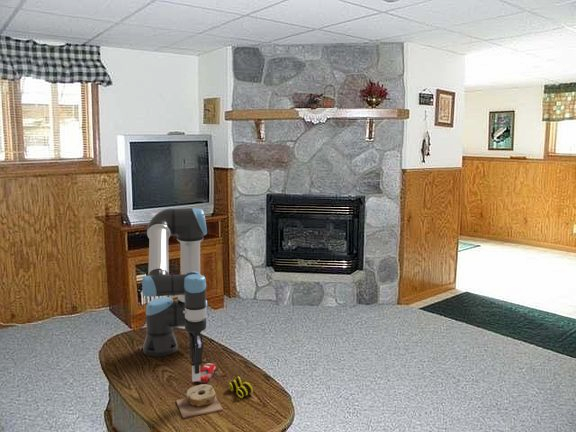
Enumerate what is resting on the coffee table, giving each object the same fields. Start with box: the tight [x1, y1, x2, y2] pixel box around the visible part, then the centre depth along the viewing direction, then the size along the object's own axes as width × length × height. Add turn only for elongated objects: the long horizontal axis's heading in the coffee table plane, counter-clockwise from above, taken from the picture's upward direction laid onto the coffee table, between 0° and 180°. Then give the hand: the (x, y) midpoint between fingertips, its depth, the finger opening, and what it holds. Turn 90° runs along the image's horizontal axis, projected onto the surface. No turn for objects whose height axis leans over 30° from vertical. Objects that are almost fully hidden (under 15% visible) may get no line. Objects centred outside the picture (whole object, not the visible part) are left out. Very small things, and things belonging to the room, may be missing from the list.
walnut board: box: [175, 395, 224, 419], centre depth 175 cm, size 12×14×1 cm
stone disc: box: [185, 383, 217, 407], centre depth 178 cm, size 10×4×10 cm
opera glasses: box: [228, 376, 254, 399], centre depth 185 cm, size 10×5×5 cm, turn 38°
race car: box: [195, 362, 217, 384], centre depth 197 cm, size 13×5×4 cm, turn 169°
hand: (196, 380), depth 178 cm, fingers closed
